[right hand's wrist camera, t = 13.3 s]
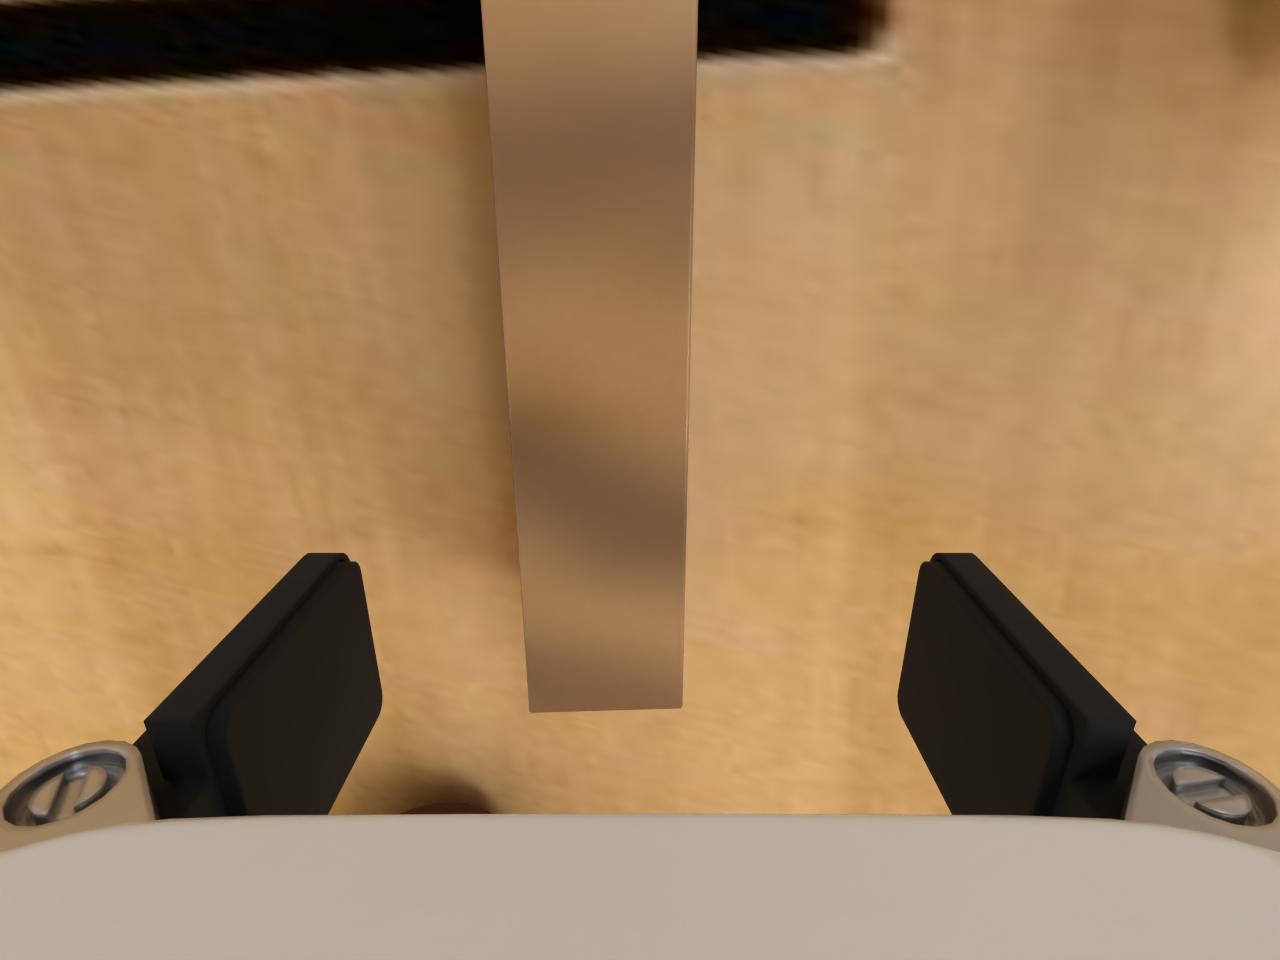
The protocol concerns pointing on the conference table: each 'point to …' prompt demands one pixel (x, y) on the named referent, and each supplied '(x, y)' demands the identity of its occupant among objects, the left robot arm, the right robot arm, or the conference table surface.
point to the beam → (597, 334)
